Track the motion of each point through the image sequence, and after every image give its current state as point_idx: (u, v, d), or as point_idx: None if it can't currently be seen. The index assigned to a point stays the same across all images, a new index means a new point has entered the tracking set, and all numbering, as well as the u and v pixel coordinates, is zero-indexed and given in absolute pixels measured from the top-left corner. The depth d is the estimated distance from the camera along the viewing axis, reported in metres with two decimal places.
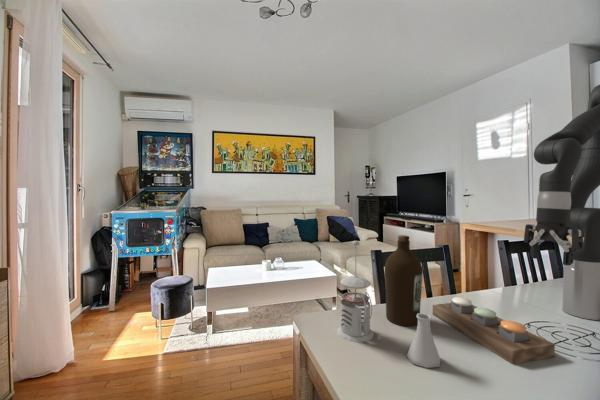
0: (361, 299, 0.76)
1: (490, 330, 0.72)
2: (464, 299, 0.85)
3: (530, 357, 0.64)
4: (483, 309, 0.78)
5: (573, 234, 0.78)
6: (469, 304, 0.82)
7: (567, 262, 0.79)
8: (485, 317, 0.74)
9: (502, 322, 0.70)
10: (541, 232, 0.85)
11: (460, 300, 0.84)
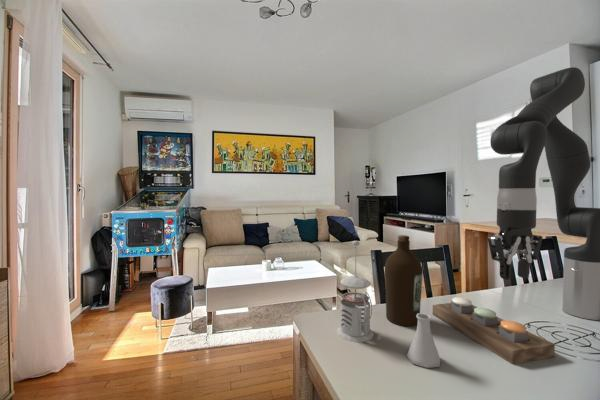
0: (361, 299, 0.76)
1: (490, 330, 0.72)
2: (464, 299, 0.85)
3: (530, 357, 0.64)
4: (483, 309, 0.78)
5: (539, 241, 0.68)
6: (469, 304, 0.82)
7: None
8: (485, 317, 0.74)
9: (502, 322, 0.70)
10: (518, 241, 0.66)
11: (460, 300, 0.84)
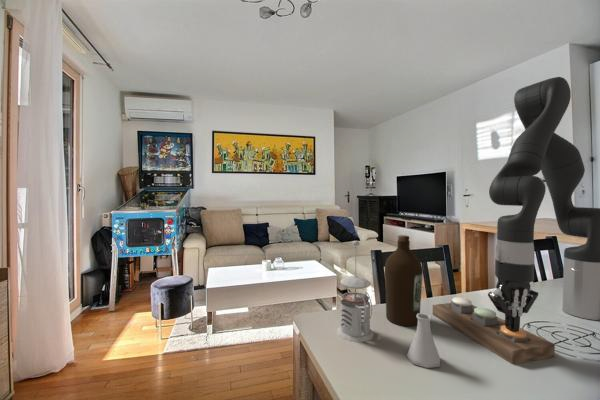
0: (361, 299, 0.76)
1: (490, 330, 0.72)
2: (464, 299, 0.85)
3: (530, 357, 0.64)
4: (483, 309, 0.78)
5: (534, 296, 0.68)
6: (469, 304, 0.82)
7: None
8: (485, 317, 0.74)
9: (502, 327, 0.70)
10: (517, 294, 0.66)
11: (460, 300, 0.84)
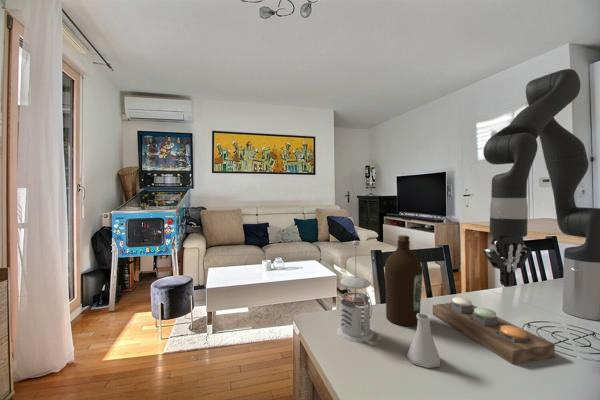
0: (361, 299, 0.76)
1: (490, 330, 0.72)
2: (464, 299, 0.85)
3: (530, 357, 0.64)
4: (483, 309, 0.78)
5: (527, 252, 0.70)
6: (469, 304, 0.82)
7: None
8: (485, 317, 0.74)
9: (502, 327, 0.70)
10: (511, 249, 0.68)
11: (460, 300, 0.84)
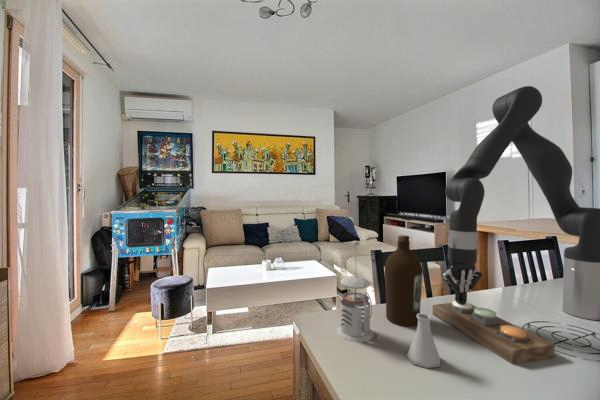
0: (361, 299, 0.76)
1: (490, 330, 0.72)
2: None
3: (530, 357, 0.64)
4: (483, 309, 0.78)
5: (478, 276, 0.84)
6: (469, 307, 0.82)
7: None
8: (485, 317, 0.74)
9: (502, 327, 0.70)
10: (463, 273, 0.82)
11: None
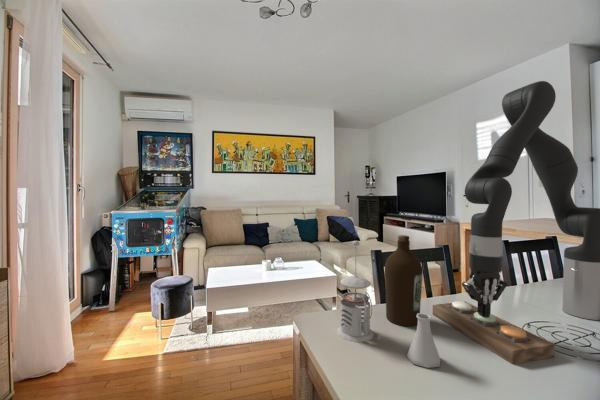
0: (361, 299, 0.76)
1: (490, 330, 0.72)
2: (464, 303, 0.85)
3: (530, 357, 0.64)
4: None
5: (503, 286, 0.76)
6: (469, 308, 0.82)
7: None
8: (485, 322, 0.74)
9: (502, 327, 0.70)
10: (487, 283, 0.74)
11: (460, 304, 0.84)
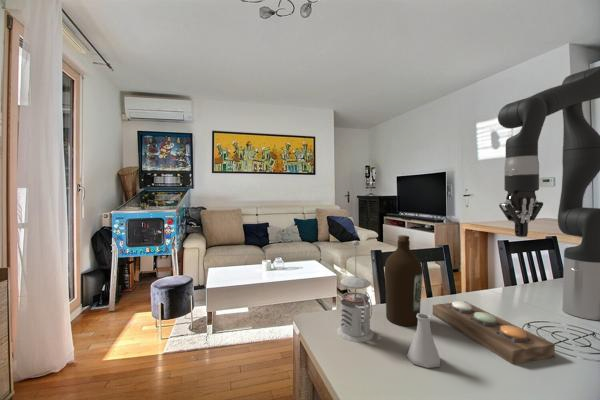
0: (361, 299, 0.76)
1: (490, 330, 0.72)
2: (464, 303, 0.85)
3: (530, 357, 0.64)
4: (483, 314, 0.78)
5: (539, 206, 0.78)
6: (469, 308, 0.82)
7: (526, 233, 0.78)
8: (485, 322, 0.74)
9: (502, 327, 0.70)
10: (525, 202, 0.76)
11: (460, 304, 0.84)
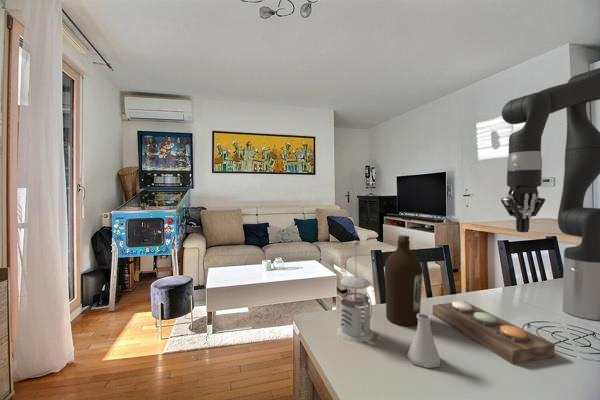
0: (361, 299, 0.76)
1: (490, 330, 0.72)
2: (464, 303, 0.85)
3: (530, 357, 0.64)
4: (483, 314, 0.78)
5: (541, 202, 0.78)
6: (469, 308, 0.82)
7: None
8: (485, 322, 0.74)
9: (502, 327, 0.70)
10: (527, 197, 0.76)
11: (460, 304, 0.84)
